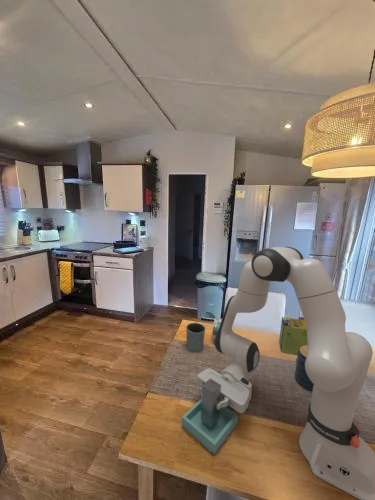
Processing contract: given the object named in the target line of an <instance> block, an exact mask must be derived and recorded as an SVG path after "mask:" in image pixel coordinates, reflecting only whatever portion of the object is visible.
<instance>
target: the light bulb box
mask: <svg viewBox="0 0 375 500" xmlns="http://www.w3.org/2000/svg"><path fill="white" fill-rule="evenodd" d="M213 320H214V321H213V324H212V339H211V340H212V341H211V342H212V343H211V344H212V345H215V344H214V339H215V336H216V334H217V332H218V330H219V327H220V324H221V321H222V318H218V317H215V318H214V319H213Z"/></svg>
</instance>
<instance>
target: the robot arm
mask: <svg viewBox="0 0 375 500" xmlns="http://www.w3.org/2000/svg"><path fill="white" fill-rule="evenodd" d="M328 272H329V271H327V269H326V268H325V266H324V264H323V263H322V261H320V260H318V259H316V258H311V257H310V258H304V256H303V254H302V253H301V252H300V251H299V249H296V248H294V247H291V246H273V247H269V248H263V249H260V250H259V251H258V252H256V253H255V254H254V255H253V257H252V259H251V260H249V261H247V262H246V263H244V266H243V267H242V270H241V273H240V275H239V276H240V277H239V281H238V286H237V288H238V289H237V292H236V293H235V295H231V296H230V298H229V299H228V300H227V302H226V306H225V308H224V311H223V315H222V318H221V319H222V321H221V324H220V327H219V330H218V332H217V334H216V336H215V339H214V344H213V345H214V346H215V349H216V350H215V351H217V352H218V353H221V354H222V355H225V356H227V357H229V358H231V359H232V362H231V363H230V364H228V365H227V366H226V367H225V368H224V369H223V370H221V371H217V370H215V369H214V368H209V367H208V368H205V369H204V370H202V371H200V372H199V373H198V374H197V376H196V384H197V385H199V386H200V387H201V388H202V385H203V384H204V383H206V382H207V381H208V380H209V379H210V378H211V379H212V380H214V381H215V382H217V383H219V384H220V385H221V397H220V401H217V402H216V403H215V408H217V409H218V410H219V409H220V408H221V407H228V406H229V407H230V408H231V409H234V411H236V412H237V413H239V414H244V413H245V412H246V411H247V408H248V406H249V404H250V401H251V398H252V393H253V385H252V382H250V381H249V380H250V379H251V378H252V376H254V374H255V372H256V371H257V368H258V366H259V362H260V356H261V354H260V348H259V346H258V345H257V343H256V342H255V341H253V340H251V339H249V338H247V337H244V336H242V335H241V334H239V333H236V332H235V331H234V330H233V326H234V322H235V319H236V316H237V314H239V313H241V314H244V313H245V314H250V313H251V314H252V313H256V312H259V311H261V310H262V309H263V308H264V307H265V306H266V304H267V301H268V297H269V290H270V289H269V288H270V283H271V282H279V283H284V282H286V281H287V282H289V283H290V285H291V286H292V288H293V290H294V292H295V296H296V299H297V301H298V305H299V307H300V311H301V313H302V317H303V320H305V325H306V331H307V344H308V352H307V358H306V361H305V370H306V373H307V375H308V377H309V379H310V380H311V381H312V383H313V384H314V386H313V391H311V392H312V393H311V400H310V403H309V404H308V406H307V411H306V412H307V413H306V424H305V426H304V429H303V431H302V432H301V433H300V436H299V440H298V441H299V449H300V450H301V452H302V454H303V456H304V458H306V460H307V461H308V463H309V466H310V469H311V471H312V473H313V475H314V476H315V477H317V478H318V479H320V480H322V481H324V482H326V483H328V484H331V485H332V486H334V487H336V488H338V489H340V490H341V491H343V492H345V493H347V494H349V495H351V496H353V497H354V498H356V499H358V500H375V452H374V450H373V449H372V447H370V445H369V444H367V442H366V441H365V440H364V439H363V438H362V437H361V436H360V423H359V422H357V425H356V424H355V423H354V422H353V421H354V416H355V411H356V407H357V403H358V401H359V396H360V393H361V392H362V389H363V387H364V386H363V385H364V384H365V379H366V377H367V373H368V371H369V368H370V364H371V362H372V361H371V360H372V357H373V353H374V352H373V347H372V344H370V342H369V341H368V339H366V338H365V337H364V336H363V335H361V334H359V333H356V332H355V331H354V332H352V331H346V320H347V319H346V318H347V317H346V312H345V309H344V307H343V304H342V302H341V299H340V298H339V294H338V291H337V290H336V286H335V284H334V282H333V280H332V278H331V276H330V274H329V273H328ZM201 398H202V392H201V394H200V399H201Z"/></svg>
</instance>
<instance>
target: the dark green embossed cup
mask: <svg viewBox="0 0 375 500" xmlns="http://www.w3.org/2000/svg"><path fill="white" fill-rule="evenodd" d="M185 327H186V329H185V330H186V349H187V350H188V351H189V352H191V353H199V352H201V351H202V350H203V347H204V341H205V335H206V334H205V333H206V327H205V325H203V324H202V323H198V322H191V323H188V324H187V325H186V326H185Z"/></svg>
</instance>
